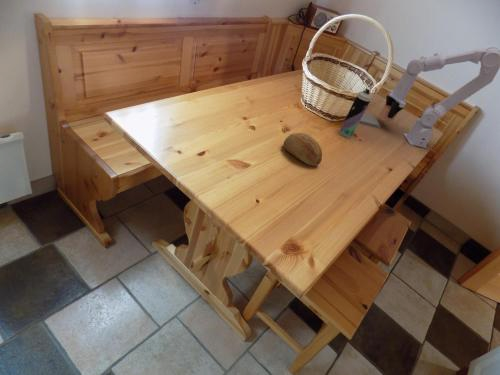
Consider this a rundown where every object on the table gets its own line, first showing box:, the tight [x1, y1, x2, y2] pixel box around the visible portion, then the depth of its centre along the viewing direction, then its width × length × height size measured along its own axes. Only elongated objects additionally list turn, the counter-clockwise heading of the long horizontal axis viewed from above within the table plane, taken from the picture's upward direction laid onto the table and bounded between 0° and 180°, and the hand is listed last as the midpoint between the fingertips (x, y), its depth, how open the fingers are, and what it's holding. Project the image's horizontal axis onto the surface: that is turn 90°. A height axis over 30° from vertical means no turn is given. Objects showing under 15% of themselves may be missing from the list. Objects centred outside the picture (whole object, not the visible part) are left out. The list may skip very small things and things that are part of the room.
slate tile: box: [358, 112, 381, 129], centre depth 149 cm, size 10×10×1 cm
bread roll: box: [283, 132, 323, 167], centre depth 108 cm, size 10×15×8 cm, turn 49°
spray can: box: [339, 87, 372, 139], centre depth 127 cm, size 6×6×20 cm
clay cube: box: [379, 104, 398, 123], centre depth 146 cm, size 5×5×5 cm
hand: (387, 114), depth 146 cm, fingers closed on clay cube, 5 cm apart
